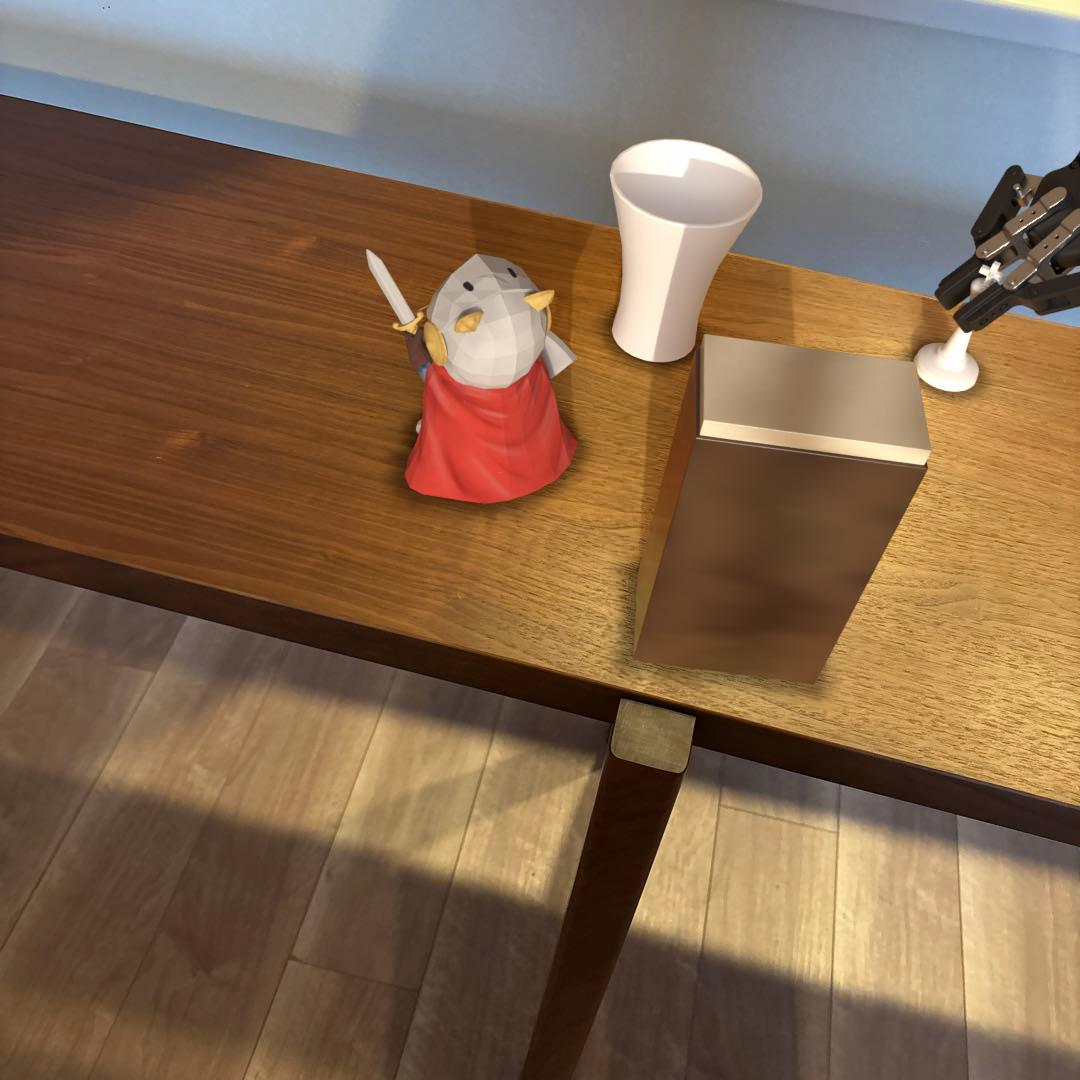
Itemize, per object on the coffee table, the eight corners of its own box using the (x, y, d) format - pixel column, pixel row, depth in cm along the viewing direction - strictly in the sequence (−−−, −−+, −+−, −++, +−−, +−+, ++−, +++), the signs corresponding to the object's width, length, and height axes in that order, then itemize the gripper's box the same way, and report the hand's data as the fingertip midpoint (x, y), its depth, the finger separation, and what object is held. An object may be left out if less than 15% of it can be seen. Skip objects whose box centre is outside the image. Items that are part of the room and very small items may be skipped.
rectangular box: (808, 598, 70) (919, 360, 55) (814, 685, 66) (936, 454, 51) (637, 575, 70) (700, 330, 55) (632, 661, 66) (699, 422, 51)
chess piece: (927, 340, 88) (977, 233, 80) (985, 368, 86) (1041, 262, 78) (903, 372, 85) (951, 265, 77) (962, 401, 83) (1018, 294, 76)
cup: (725, 387, 82) (770, 234, 72) (585, 375, 82) (610, 218, 71) (716, 298, 89) (756, 145, 78) (586, 286, 88) (609, 131, 78)
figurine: (549, 375, 81) (571, 197, 70) (595, 489, 74) (629, 313, 63) (371, 397, 78) (364, 215, 67) (403, 518, 71) (401, 339, 60)
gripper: (1099, 60, 76) (884, 231, 82) (1233, 173, 67) (983, 353, 74) (1123, 125, 81) (920, 280, 87) (1250, 237, 73) (1016, 399, 79)
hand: (950, 313), depth 81 cm, fingers closed on chess piece
